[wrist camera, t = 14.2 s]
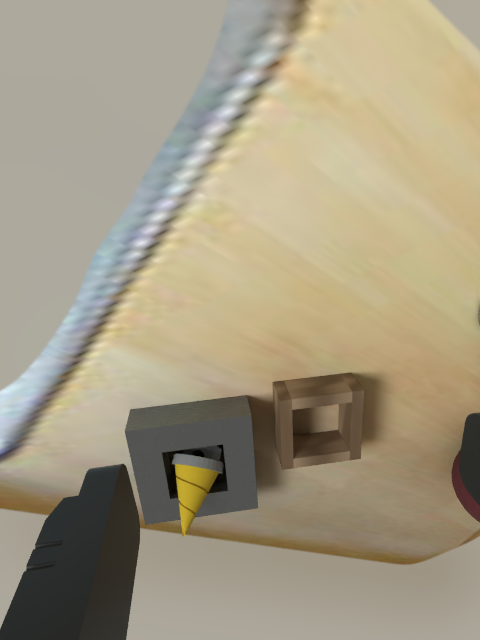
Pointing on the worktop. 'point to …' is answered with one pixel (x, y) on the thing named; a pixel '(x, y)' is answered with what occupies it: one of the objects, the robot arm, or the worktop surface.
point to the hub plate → (186, 433)
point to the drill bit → (195, 479)
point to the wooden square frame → (322, 444)
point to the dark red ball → (464, 491)
